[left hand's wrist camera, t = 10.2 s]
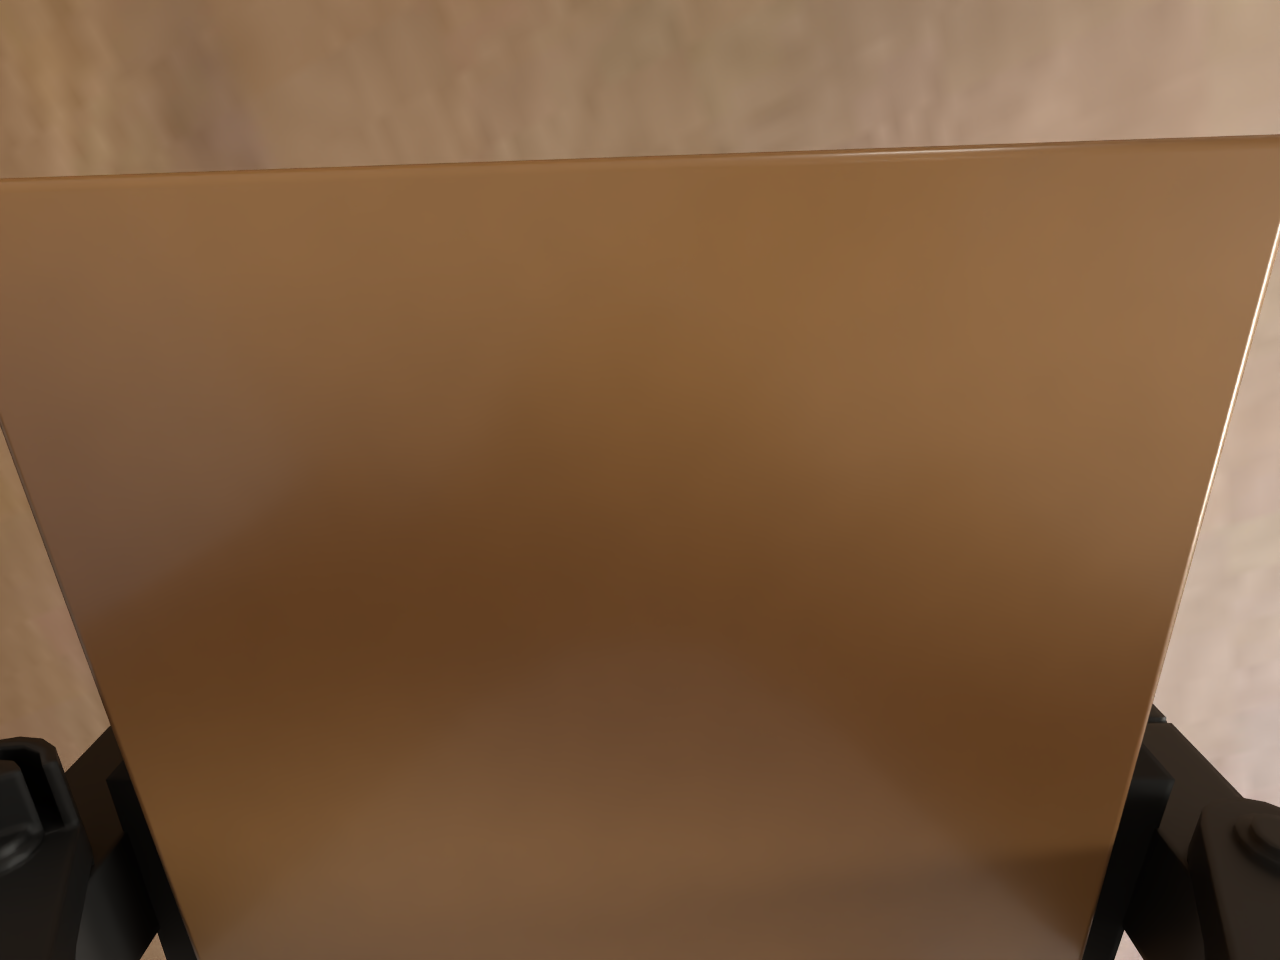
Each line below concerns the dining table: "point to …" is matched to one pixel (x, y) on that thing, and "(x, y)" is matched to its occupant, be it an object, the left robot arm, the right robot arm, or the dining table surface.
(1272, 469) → the dining table surface
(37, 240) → the long beam
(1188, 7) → the dining table surface
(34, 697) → the dining table surface
